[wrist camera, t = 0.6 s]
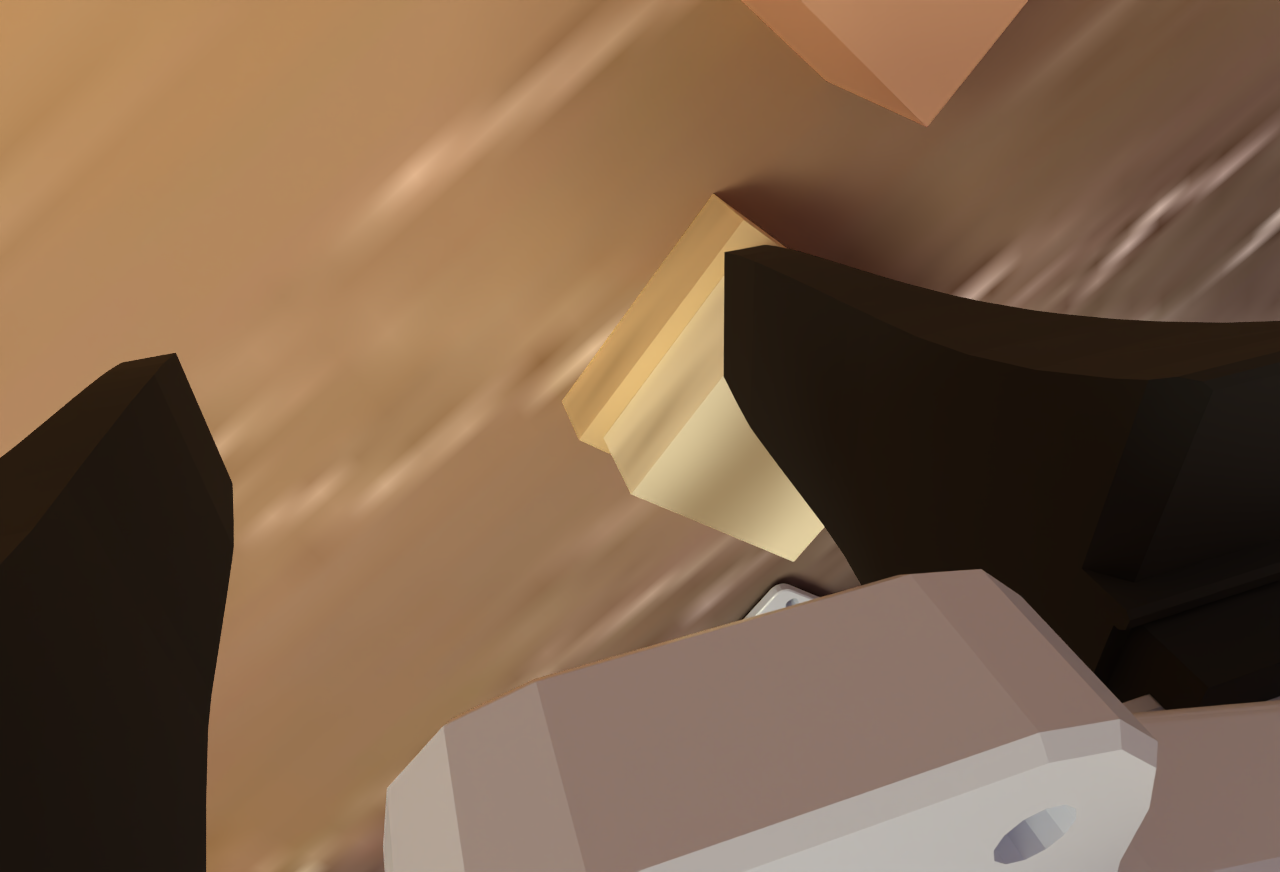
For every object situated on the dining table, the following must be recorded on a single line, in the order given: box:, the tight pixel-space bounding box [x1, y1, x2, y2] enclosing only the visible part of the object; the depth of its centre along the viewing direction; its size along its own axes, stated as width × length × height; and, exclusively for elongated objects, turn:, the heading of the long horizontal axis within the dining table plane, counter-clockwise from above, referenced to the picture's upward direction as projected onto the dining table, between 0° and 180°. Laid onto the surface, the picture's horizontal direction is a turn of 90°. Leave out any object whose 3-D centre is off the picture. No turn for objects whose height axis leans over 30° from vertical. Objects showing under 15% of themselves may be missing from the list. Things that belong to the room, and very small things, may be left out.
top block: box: [604, 276, 824, 562], centre depth 22 cm, size 6×6×2 cm
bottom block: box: [562, 194, 786, 454], centre depth 24 cm, size 7×7×2 cm
